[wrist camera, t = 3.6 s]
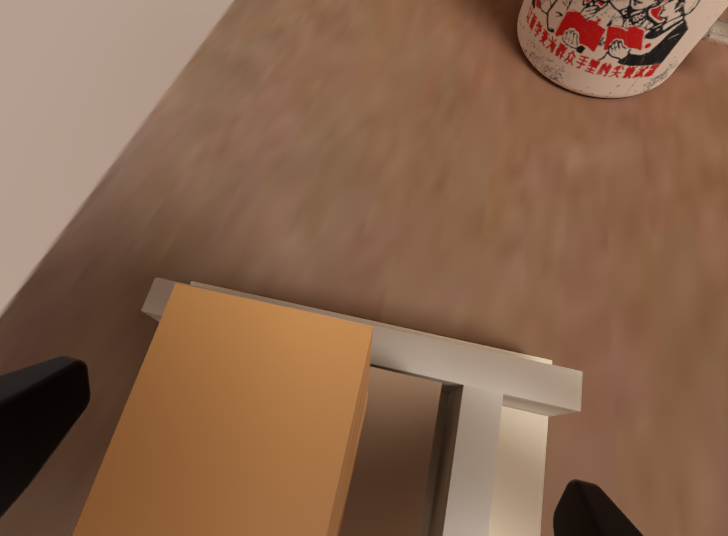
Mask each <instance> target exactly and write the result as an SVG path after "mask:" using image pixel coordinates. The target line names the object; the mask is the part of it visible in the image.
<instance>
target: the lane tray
mask: <svg viewBox="0 0 728 536" xmlns="http://www.w3.org/2000/svg"><path fill="white" fill-rule="evenodd" d="M175 283H180V282H176V281H171V280H167V279H162V278H158V277H155V279H154V282H153V284H152V286H151V289H150V291H149V293H148V296H147V298H146V300H145V303H144V305H143V307H142V310H141V311H142V312H144V313H145V314H147V315H149V316H150V317H152V318H154V319H155V320H157V321H159V322H160V320H161V317H162V315H163V312H164V310H165V307H166V305H167V303H168V300H169V298H170V295H171V293H172V290H173V288H174V286H175ZM180 284H184V285H189V284H185V283H180ZM189 286H193V287H198V288H202V289H207V290H211V291H216V292H220V293H225V294H229V295H234V296H238V297H243V298H247V299H252V300H256V301H261V302H265V303H270V304H274V305H279V306H283V307H288V308H292V309H297V310H301V311H306V312H310V313H315V314H319V315H324V316H328V317H333V318H337V319H342V320H346V321H351V322H355V323H360V324H364V325H369V326H373V334H372V347H371V360H370V367H375V368H379V369H383V370H388V371H392V372H396V373H401V374H405V375H410V376H414V377H418V378H423V379H427V380H431V381H436V382H440V383H442V387H441V393H440V400H439V406H438V412H437V419H436V425H435V431H434V438H433V444H432V450H431V457H430V463H429V469H428V476H427V482H426V488H425V495H424V501H423V507H422V514H421V520H420V526H419V533H418V536H540V529H541V514H542V500H543V485H544V471H545V456H546V441H547V427H548V417H549V416H555V415H561V414H568V413H574V412H581V394H582V371H578V370H573V369H569V368H564V367H560V366H555V365H552V360H548V359H543V358H539V357H534V356H530V355H525V354H521V353H516V352H511V351H507V350H502V349H498V348H493V347H489V346H484V345H480V344H475V343H471V342H466V341H462V340H457V339H453V338H448V337H443V336H439V335H434V334H430V333H425V332H421V331H416V330H412V329H407V328H403V327H398V326H394V325H389V324H385V323H380V322H375V321H371V320H366V319H362V318H357V317H353V316H348V315H344V314H339V313H335V312H330V311H326V310H321V309H317V308H312V307H308V306H303V305H298V304H294V303H289V302H285V301H280V300H276V299H271V298H267V297H262V296H258V295H253V294H249V293H244V292H240V291H235V290H230V289H226V288H221V287H217V286H212V285H208V284H203V283H199V282H194V281H191V283H190V285H189Z"/></svg>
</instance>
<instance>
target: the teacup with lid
mask: <svg viewBox="0 0 728 536" xmlns="http://www.w3.org/2000/svg"><path fill="white" fill-rule="evenodd" d="M727 7H728V0H524V1H523V4H522V7H521V10H520V13H519V16H518V22H517V33H518V39H519V42H520V45H521V48H522V50H523V52H524V53H525V55H526V57H527V58H528V60H529V61H530V62H531V64H532V65H533V66H534V67H535V68H536V69H537V70H538V71H539V72H540V73H541V74H543V75H544V76H545V77H547V78H548V79H549V80H551V81H553V82H554V83H556V84H558V85H560V86H562V87H564V88H566V89H568V90H571V91H573V92H577V93H580V94H583V95H587V96H593V97H600V98H622V97H629V96H634V95H638V94H641V93H644V92H647V91H649V90H651V89H653V88H655V87H656V86H658V85H660V84H661V83H662V82H664V81H665V80H666V79H667V78H668V77H669V76H670V75H671V74H672V73H673V72H674V70H675V69H676V68H677V67H678V66H679V64H680V63H681V62H682V61H683V60H684V58H685V57H686V56H687V55H688V54H689V52H690V51H691V50H692V49H693V48H694V46H695V45H696V44H697V43H698V42H699V40H704V41H707V42H710V43H713V44H717V45H721V46H726V47H728V20H726V19H723V18H719V16H720V15H721V14H722V13H723V11H724V10H725V9H726V8H727Z"/></svg>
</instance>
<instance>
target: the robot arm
mask: <svg viewBox="0 0 728 536" xmlns="http://www.w3.org/2000/svg"><path fill="white" fill-rule="evenodd" d="M89 400H90V386H89V378H88V370H87V365H86V364H85V362H84V361H82V360H79V359H75V358H70V357H65V356H62V357H57V358H54V359H51V360H48V361H45V362H42V363H39V364H35V365H32V366H29V367H26V368H23V369H20V370H17V371H14V372H11V373H7V374H4V375H1V376H0V518H1V517H2V516H3V515H4V513H5V512H6V511H7V510H8V509H9V508H10V507H11V505H12V504H13V503H14V502H15V501H16V500H17V499H18V497H19V496H20V495H21V494H22V493H23V492H24V490H25V489H26V488H27V487H28V486H29V484H30V483H31V482H32V481H33V479H34V478H35V477H36V476H37V474H38V473H39V472H40V470H41V469H42V468H43V466H44V465H45V464H46V462H47V461H48V460H49V458H50V457H51V455H52V454H53V453H54V451H55V450H56V449H57V447H58V446H59V444H60V443H61V442H62V440H63V439H64V438H65V436H66V435H67V433H68V432H69V431H70V429H71V428H72V427H73V425H74V424H75V422H76V421H77V420H78V418H79V417H80V416H81V414H82V413H83V411H84V410H85V409H86V407H87V405H88V403H89ZM553 529H554V536H643V535H642V534H641V532H640V531H639V530H638V529H637V528H636V527H635V526H634V525H633V524H632V522H631V521H630V520H629V519H628V518H627V517H626V516H625V515H624V514H623V512H622V511H621V510H620V509H619V508H618V507H617V506H616V505H615V504H614V502H613V501H612V500H611V499H610V498H609V497H608V496H607V495H606V494H605V492H604V491H603V490H602V489H601V488H600V487H599V486H597V485H596V484H593V483H589V482H585V481H581V480H577V479H573V480H571V481H569V483H568V484H567V486H566V488H565V490H564V492H563V494H562V496H561V498H560V500H559V502H558V505H557V507H556V509H555V511H554V516H553Z"/></svg>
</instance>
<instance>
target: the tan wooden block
mask: <svg viewBox="0 0 728 536" xmlns="http://www.w3.org/2000/svg"><path fill="white" fill-rule="evenodd" d="M372 334H373V326H369V325H364V324H360V323H355V322H351V321H346V320H342V319H337V318H333V317H328V316H324V315H319V314H315V313H310V312H306V311H301V310H297V309H292V308H288V307H283V306H279V305H274V304H270V303H265V302H261V301H256V300H252V299H247V298H243V297H238V296H234V295H229V294H225V293H220V292H216V291H211V290H207V289H202V288H198V287H193V286H189V285H184V284H180V283H175V286H174V288H173V290H172V293H171V295H170V298H169V300H168V303H167V305H166V307H165V310H164V312H163V315H162V317H161V320H160V322H159V325H158V327H157V329H156V332H155V334H154V337H153V339H152V342H151V344H150V347H149V349H148V351H147V354H146V356H145V359H144V361H143V364H142V366H141V369H140V371H139V373H138V376H137V378H136V381H135V383H134V386H133V388H132V390H131V393H130V395H129V398H128V400H127V403H126V405H125V408H124V410H123V412H122V415H121V417H120V420H119V422H118V425H117V427H116V430H115V432H114V434H113V437H112V439H111V442H110V444H109V447H108V449H107V452H106V454H105V456H104V459H103V461H102V464H101V466H100V469H99V471H98V473H97V476H96V478H95V481H94V483H93V486H92V488H91V491H90V493H89V495H88V498H87V500H86V503H85V505H84V508H83V510H82V513H81V515H80V517H79V520H78V522H77V525H76V527H75V530H74V532H73V534H72V536H418V533H419V526H420V520H421V514H422V507H423V501H424V495H425V488H426V482H427V476H428V469H429V463H430V457H431V450H432V444H433V438H434V431H435V425H436V419H437V412H438V406H439V400H440V393H441V387H442V383H440V382H436V381H431V380H427V379H423V378H418V377H414V376H410V375H405V374H401V373H396V372H392V371H388V370H383V369H379V368H375V367H370V360H371V347H372Z"/></svg>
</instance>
